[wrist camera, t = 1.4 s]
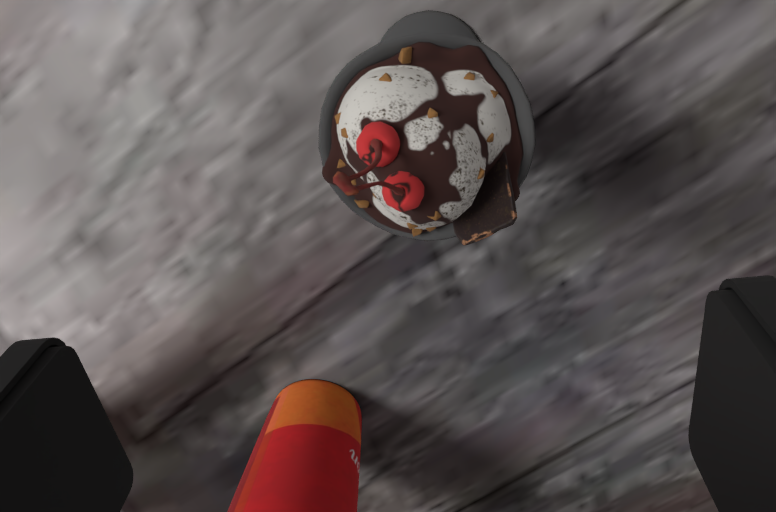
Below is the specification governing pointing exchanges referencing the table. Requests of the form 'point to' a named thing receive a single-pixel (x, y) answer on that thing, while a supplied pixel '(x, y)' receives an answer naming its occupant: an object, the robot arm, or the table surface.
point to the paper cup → (305, 453)
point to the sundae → (428, 133)
